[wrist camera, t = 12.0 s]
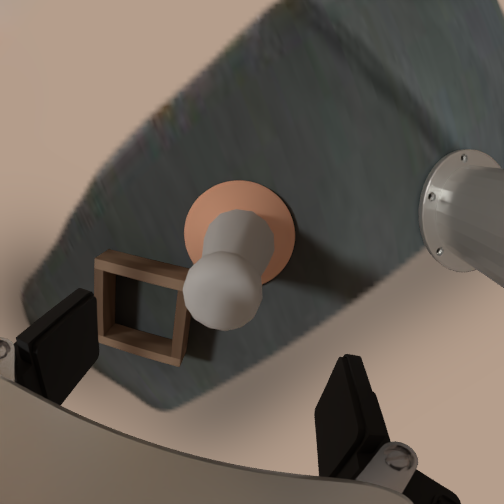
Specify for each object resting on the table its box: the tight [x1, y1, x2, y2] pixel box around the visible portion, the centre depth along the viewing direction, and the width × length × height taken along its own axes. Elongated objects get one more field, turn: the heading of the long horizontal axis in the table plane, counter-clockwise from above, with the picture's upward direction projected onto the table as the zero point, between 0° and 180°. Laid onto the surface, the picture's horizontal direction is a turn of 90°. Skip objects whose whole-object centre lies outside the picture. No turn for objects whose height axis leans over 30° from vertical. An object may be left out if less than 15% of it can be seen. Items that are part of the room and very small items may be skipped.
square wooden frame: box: [94, 249, 191, 367], centre depth 30 cm, size 10×10×3 cm
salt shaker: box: [183, 209, 274, 331], centre depth 22 cm, size 6×6×13 cm
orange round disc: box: [184, 180, 295, 284], centre depth 28 cm, size 10×10×1 cm
